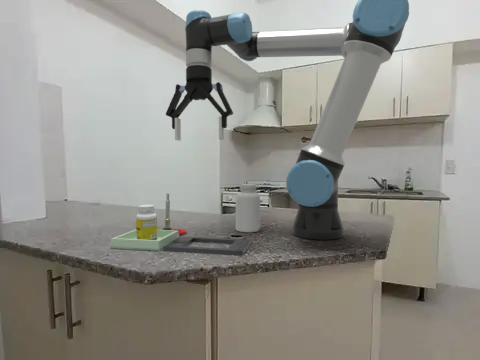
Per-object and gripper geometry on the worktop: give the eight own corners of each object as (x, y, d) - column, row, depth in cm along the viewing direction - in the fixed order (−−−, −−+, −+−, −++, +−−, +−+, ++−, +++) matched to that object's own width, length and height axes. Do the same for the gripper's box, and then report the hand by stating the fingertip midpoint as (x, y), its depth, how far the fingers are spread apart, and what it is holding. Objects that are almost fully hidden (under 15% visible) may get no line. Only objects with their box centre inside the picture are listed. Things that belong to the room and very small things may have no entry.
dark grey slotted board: (251, 243, 87) (251, 239, 87) (242, 255, 75) (242, 250, 75) (181, 239, 91) (181, 236, 91) (163, 250, 79) (163, 246, 79)
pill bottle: (258, 233, 100) (259, 185, 99) (233, 232, 101) (233, 185, 100) (261, 228, 107) (261, 183, 107) (237, 227, 109) (237, 183, 108)
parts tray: (179, 239, 91) (179, 230, 91) (158, 251, 79) (158, 241, 79) (137, 237, 94) (137, 228, 94) (111, 248, 81) (110, 238, 81)
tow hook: (164, 231, 104) (152, 236, 95) (165, 192, 104) (153, 193, 95) (189, 233, 103) (179, 238, 94) (190, 192, 103) (180, 193, 94)
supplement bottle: (136, 240, 88) (136, 204, 88) (156, 238, 90) (156, 204, 89) (136, 244, 83) (135, 207, 82) (157, 243, 85) (157, 206, 84)
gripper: (242, 69, 96) (242, 140, 97) (165, 73, 101) (165, 141, 102) (237, 61, 89) (237, 138, 90) (154, 66, 94) (154, 139, 95)
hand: (199, 139), depth 96 cm, fingers open, 13 cm apart
